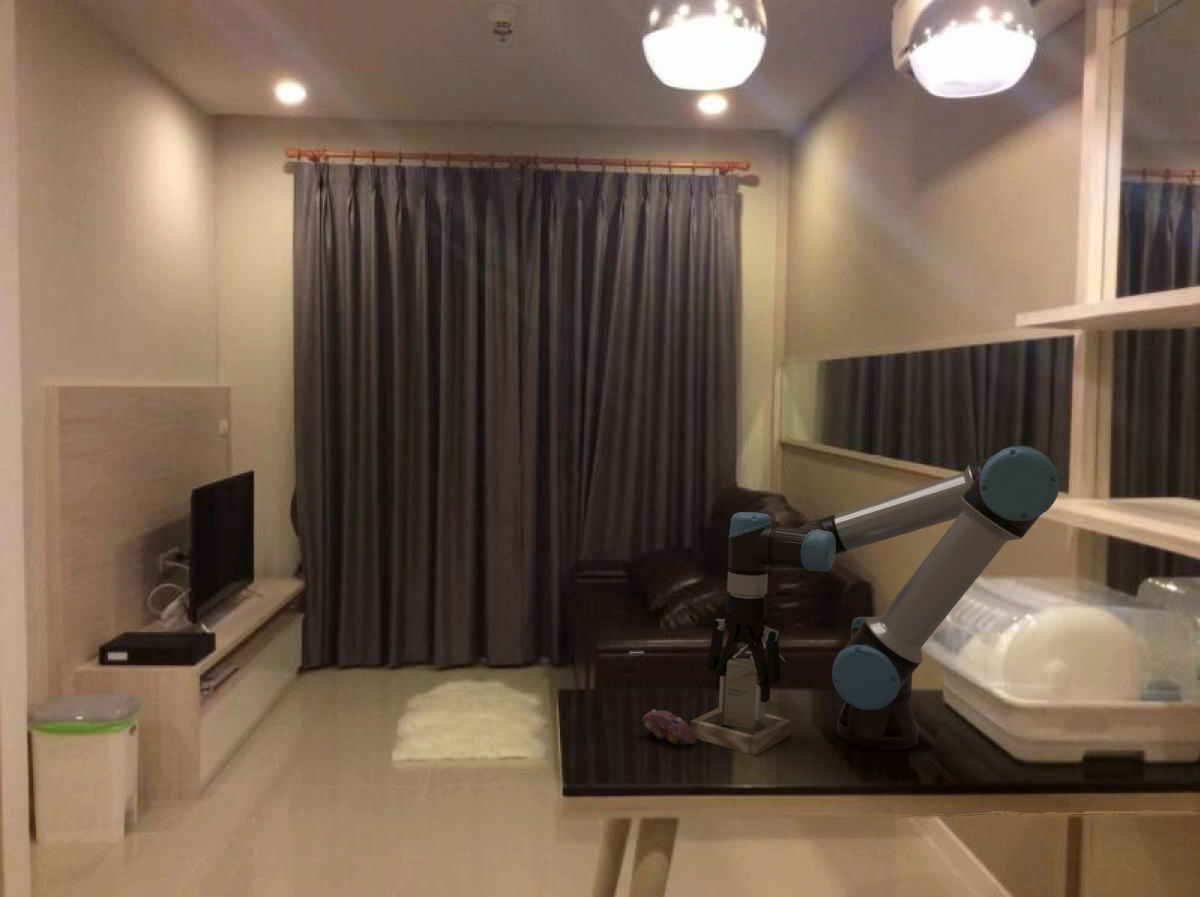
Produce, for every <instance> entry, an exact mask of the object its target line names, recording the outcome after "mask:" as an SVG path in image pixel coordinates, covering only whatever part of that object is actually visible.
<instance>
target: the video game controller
mask: <svg viewBox="0 0 1200 897" xmlns="http://www.w3.org/2000/svg"><path fill="white" fill-rule="evenodd" d="M641 720H642V724H643V725H644V726H645V727H646V728H647V729H648V730H649V731H650V732H652V733H653V735H654V736H655V737H656V738H657V739H658V740H659V739H660V740H663V739H664V738H665V737H666V738H667V740H668V742H670V743H671V744H674V745H676V744H677V743H678V742H679V741H680V740H681V741H682V742H684V743H686V744H688V745H694V744H696V742H697V740H698V739H697V736H696V733H695V732H694V731H693V730H692V729H691V728H690V725H689V724H688V723H687V722H686V721H685V720H683V719H682V717H681V716H676V715H675V714H673V713H672V712H670V711H668V710H656V709H655V708H653V709H652V710H650V711H648V712H647V713H646V714H645V715H643V717H642V719H641ZM666 730H667V731H666Z"/></svg>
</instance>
